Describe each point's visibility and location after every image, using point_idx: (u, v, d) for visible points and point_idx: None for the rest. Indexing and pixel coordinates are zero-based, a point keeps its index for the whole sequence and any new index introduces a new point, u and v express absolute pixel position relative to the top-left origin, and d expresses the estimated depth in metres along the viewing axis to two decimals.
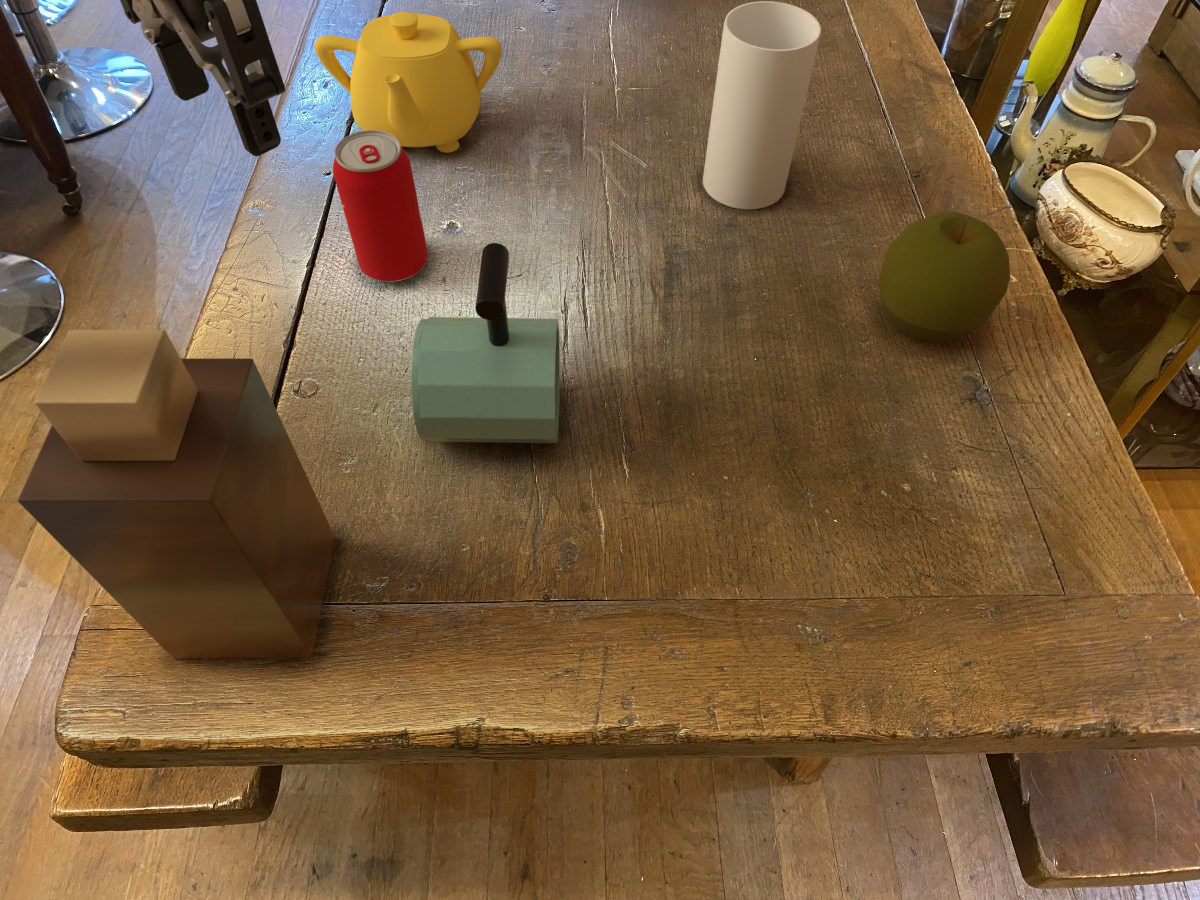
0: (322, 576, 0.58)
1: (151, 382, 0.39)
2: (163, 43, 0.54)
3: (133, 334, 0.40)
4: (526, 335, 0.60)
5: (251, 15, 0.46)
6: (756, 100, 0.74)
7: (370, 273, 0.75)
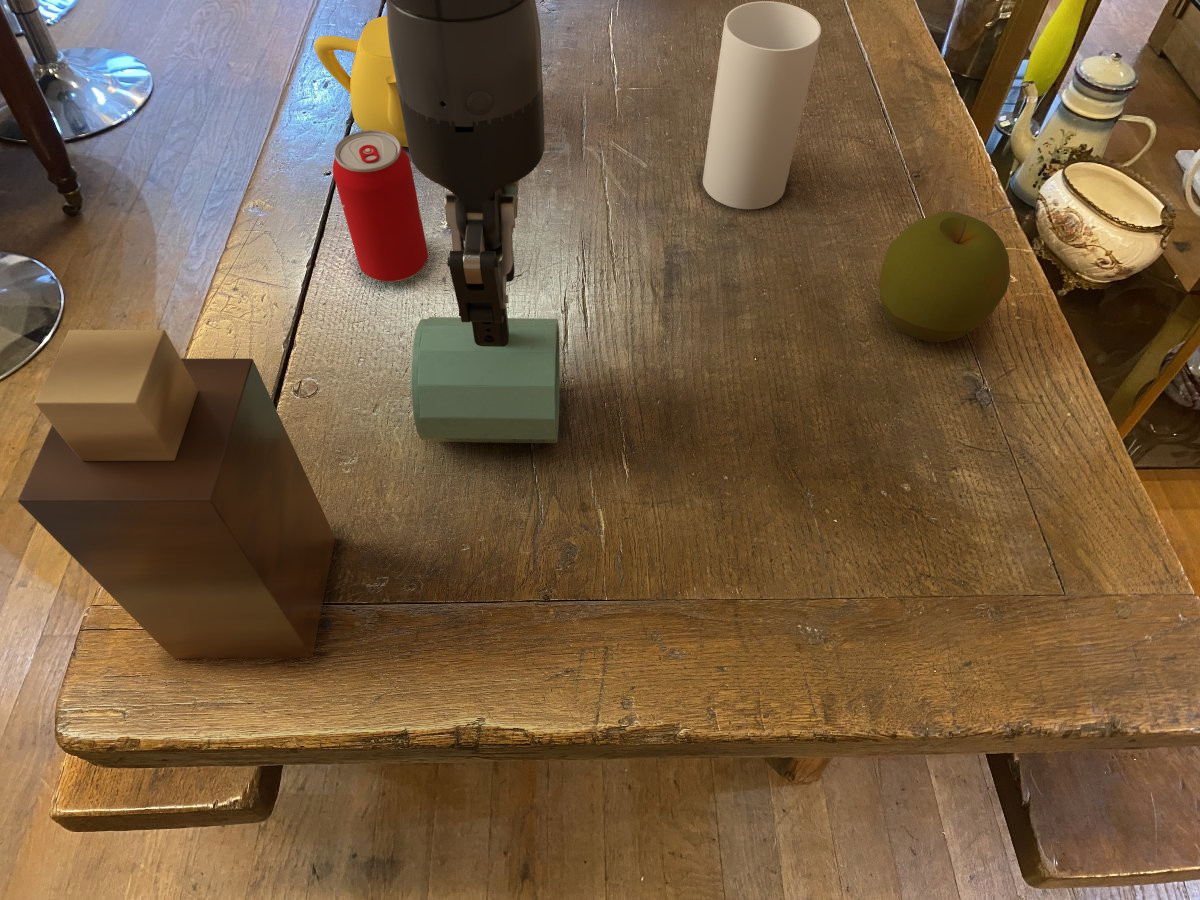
0: (322, 576, 0.58)
1: (151, 382, 0.39)
2: None
3: (133, 334, 0.40)
4: (526, 335, 0.60)
5: (485, 277, 0.47)
6: (757, 100, 0.74)
7: (370, 273, 0.75)
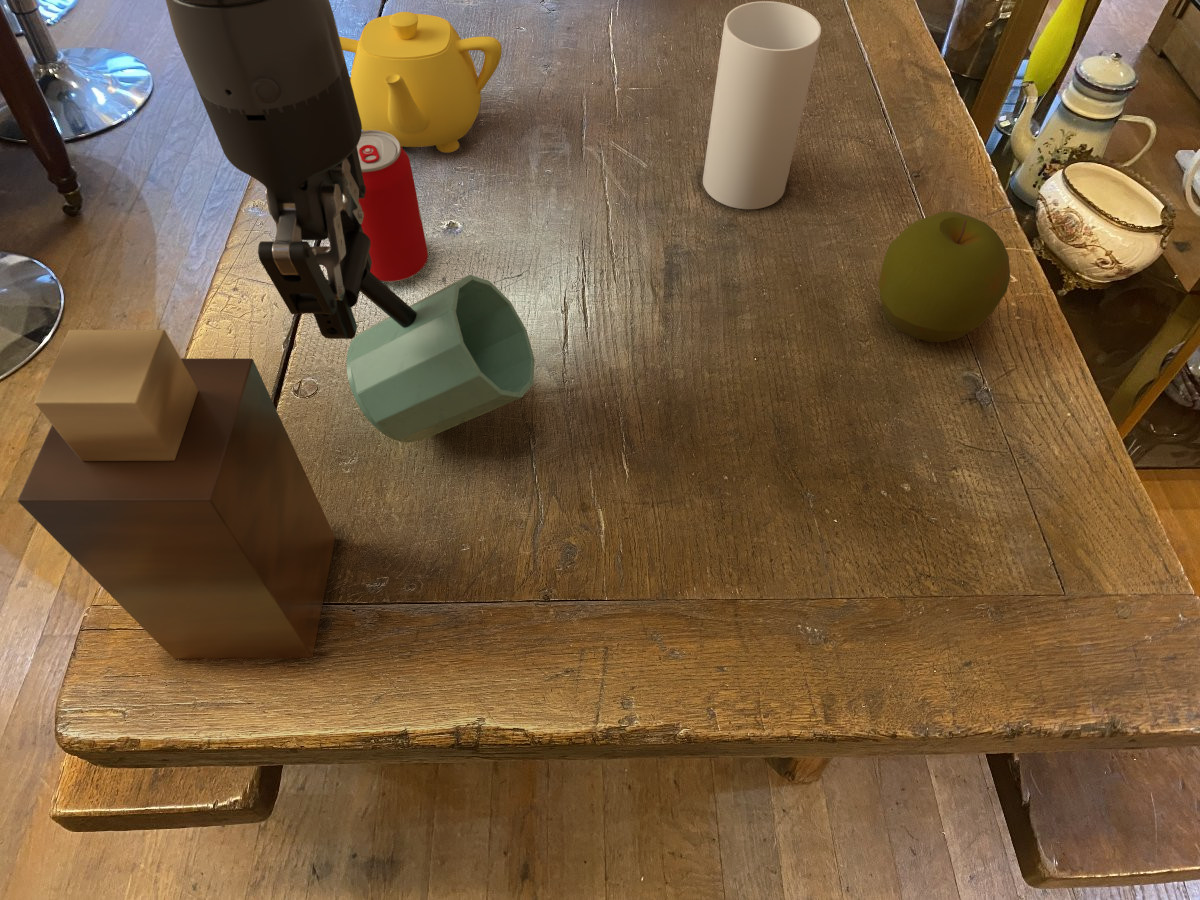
0: (322, 576, 0.58)
1: (151, 382, 0.39)
2: None
3: (133, 334, 0.40)
4: (430, 304, 0.58)
5: (299, 268, 0.46)
6: (757, 100, 0.74)
7: None
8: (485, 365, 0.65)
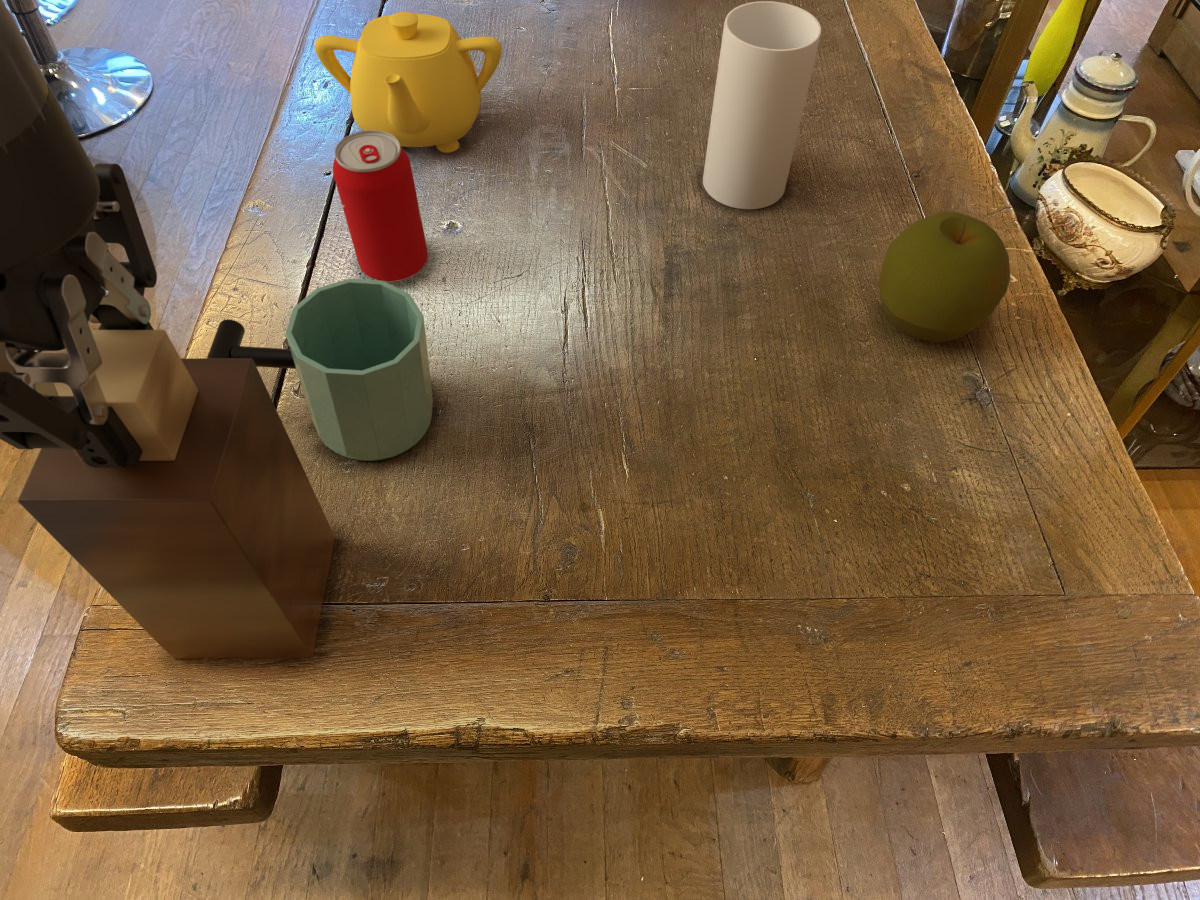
0: (322, 576, 0.58)
1: (151, 382, 0.39)
2: (106, 327, 0.41)
3: (133, 334, 0.40)
4: None
5: None
6: (757, 100, 0.74)
7: (370, 273, 0.75)
8: None
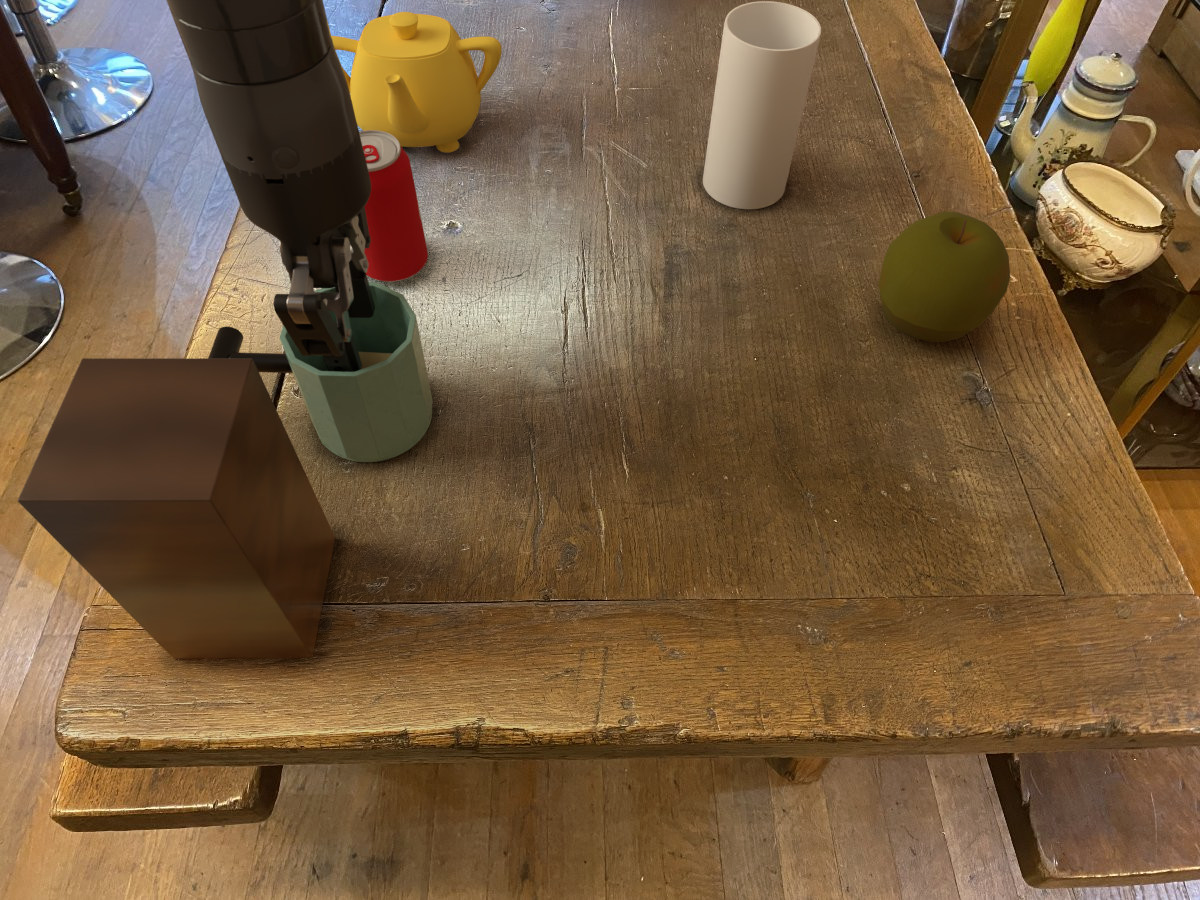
0: (322, 576, 0.58)
1: None
2: None
3: (379, 355, 0.64)
4: None
5: (311, 319, 0.49)
6: (757, 100, 0.74)
7: (370, 273, 0.75)
8: None
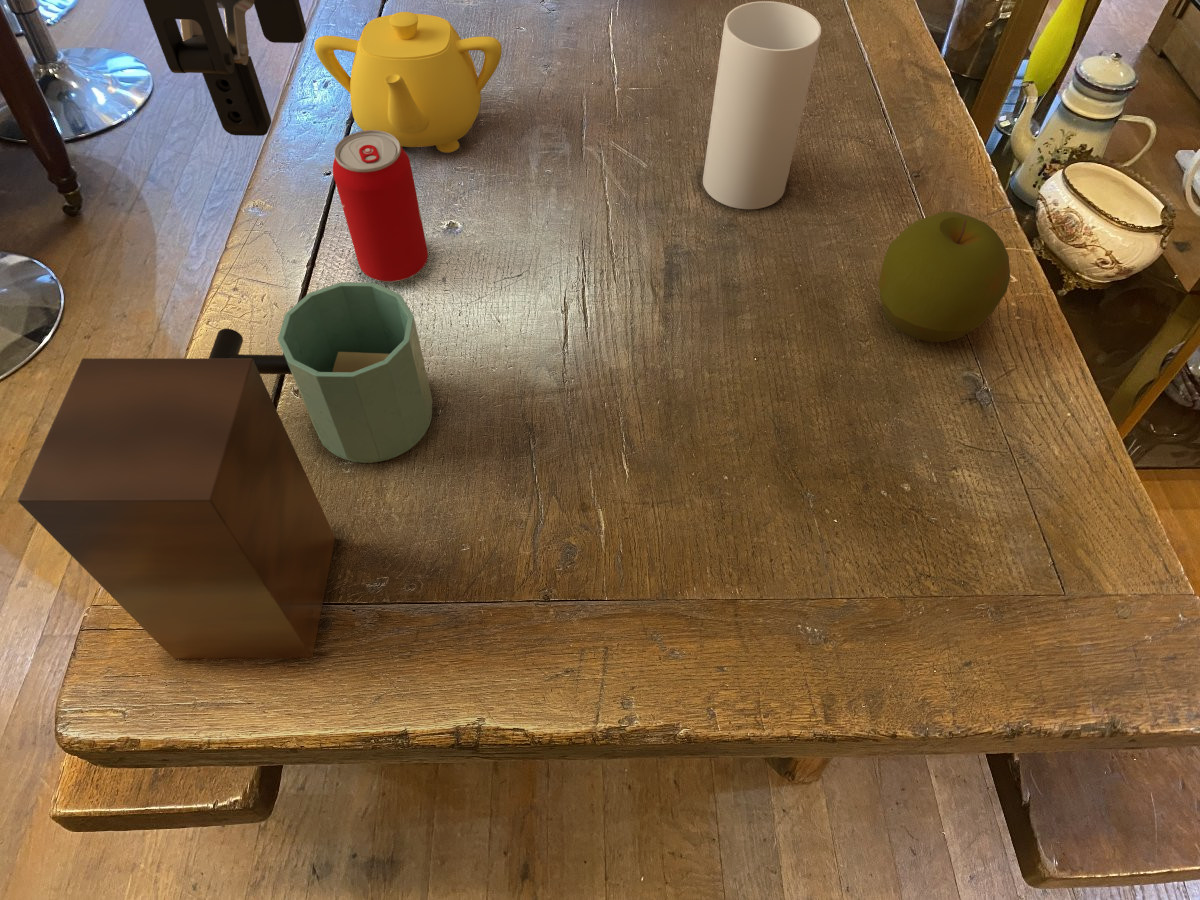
0: (322, 576, 0.58)
1: None
2: None
3: (378, 356, 0.64)
4: None
5: None
6: (757, 100, 0.74)
7: (370, 273, 0.75)
8: None
